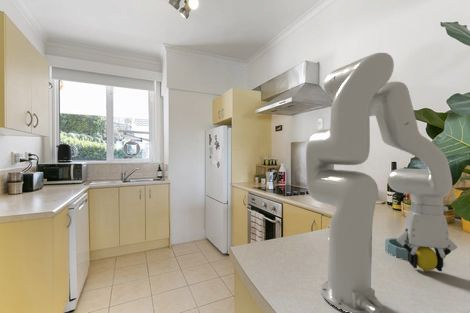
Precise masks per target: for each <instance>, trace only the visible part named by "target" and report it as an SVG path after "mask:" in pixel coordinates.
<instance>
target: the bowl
mask: <svg viewBox="0 0 470 313" xmlns="http://www.w3.org/2000/svg"><path fill="white" fill-rule="evenodd" d="M397 238H398V237H391V238H387V239H386V240H385V241H384V242H385V245H384V246H385V247H384V249H385V252H386V251H387V252H388V253H387V252H386V253H387V254H389V253H390V254H392V255H394V256H396V257H395V258H397V257H399V258H398V259H400V258H403V259H402V260H404V259H406V260H405V261H407V260H408V254H409V252H408V251H407V250H406V249H405V248H404V247H403V246H402V245H401V244H400V243H399V242H398V241H397ZM404 242H405V243H406V244H407V245H409V241H407V240H405V241H404ZM419 247H420V246H419ZM390 254H389V255H390ZM392 255H391V256H392ZM394 256H393V257H394Z"/></svg>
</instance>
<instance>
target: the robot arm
mask: <svg viewBox="0 0 470 313" xmlns="http://www.w3.org/2000/svg"><path fill="white" fill-rule="evenodd" d="M394 63H395V62H394V58H393V56H392V55H390V54H389V53H387V52H376V53H373V54H370V55H367V56H364V57H363V58H360V59H357V60H355V61H353V62H351V63H349V64H347V65H344V66H342V67H341V66H340V67H339V68H336V69H335V70H333V71H330V73H328V75H327V76H326V77H325V79H324V82H323V89H324V92H325V94H326V96H327V97H328V98H329V99H330V100H331V101H332V103H331V108H330V126H329V128H327V129H321V130H318V131H316V132H314V133H313V134H311V136H310V137H309V139H308V141H307V144H306V148H305V167H306V168H305V171H306V172H305V173H306V187H307V188H306V189H307V192H308V195H309V196H310V197H311V198H312V200H315V201H317V202H319V203H323V204H326V205H330V206H333V207H336V210H335V212H334V213H333V215H332V216H331V217H330V220H329V224H328V250H327V251H328V257H327V258H328V260H327V263H328V264H327V267H328V268H327V270H328V271H327V276H328V277H327V281H325V282H324V283H323V284H322V285H321V286H320V287H321V292H320V293H321V295H323V296H322V298H323V299H324V298H325V299H326V300H327V301H328V302H329V303H330V304H329V303H328V302H327V301H326V300H325V299H324V300H325V301H326V302H327V303H328V304H329V305H331V304H332V305H334V306H336V307H338V308H340V309H343V310H345V311H348V312H352V313H381V312H382V311H383V310H384V305H383V304H382V303H381V302H380V301H379V299H378V297H377V296H376V295H375V294H376V292H375V289H374V288H373V287H372V264H373V263H372V260H373V258H372V257H373V256H372V254H373V252H372V251H373V220H374V216H375V215H374V214H375V208H376V206H377V201H378V197H379V187H378V184H377V181H376V180H375V179H374V178H373V177H372V176H371V175H369V174H367V173H365V172H361V171H356V170H348V169H347V170H345V169H335V165H338V166H357V165H361V164H364V163H365V162H366V161H367V160H368V158H369V156H370V148H371V147H370V146H371V145H370V144H371V143H370V141H371V139H370V137H371V134H370V132H371V131H370V129H371V128H370V126H371V125H370V117H373V116H374V117H375V118H376V121H377V125H378V129H379V132H380V136H381V139H382V141H383V143H384V144H386V145H388V146H390V147H393V148H395V149H398V150H400V151H402V152H405V153H408V154H410V155H412V156H414V157H416V158H417V159H419V160H420V161H421V162H422V163H423V164H424V165H425V166H426V168H404V167H403V168H402V167H401V168H397V169H394V170H392V171H391V172H390V173H389V174H388V177H387V184H388V186H389V188H390V189H391V190H393V191H395V192H397V193H400V194H408V195H410V210H408V211H407V212H406V215H405V220H404V225H403V226H404V227H403V233H402V234H401V235H400V236H399V237H396V238H397V241H398V242H399V243H400V244H401V245H402V246H403V247H404V248H405V249H406V250H407V251H408V252H409V254H408V263H409V264H410V265H411V266H412V267H413V268H414V269H418V265H417V255H416V251H417V249H418V247H419V246H421V247H429V248H431V249H434V250H433V251H434V252H435V253H436V256H437V266H436V267H435V270H437V271H438V272H442V271H443V268H444V259H445V258H446V257H447V255H449V254H450V253H451V252H453V251H455V250H456V249H458V246H457V245H456V243H455V242H454V241H452V239H450V235H449V232H450V231H449V226H448V222H447V221H448V220H447V218H446V215H445V214H444V212H448V211H449V207H448V206H445V205H444V198H445V197H447V196H448V195H449V194H450V193H451V192H452V188H453V177H452V172H451V168H450V163H449V161H448V158H447V157H446V155H445V154H444V152H443V151H442V150H441V149H440V148H439V147H438V146H437V145H436V144H435V143H434V142H432V141H431V140H430V139H428V138H426V137H425V136H424V135H422V134H421V133H420V131H419V128H418V123H417V122H418V121H417V118H416V115H415V110H414V106H413V103H412V99H411V95H410V91H409V88H408V86H407V85H406V84H405V83H404V82H403V81H402V82H401V81H390V79H391V77H392V75H393V73H394V67H395V64H394ZM405 240H407V241H409V245H407V244H406V243H405V242H404V241H405ZM332 305H331V306H332ZM334 306H333V307H334ZM380 311H381V312H380Z"/></svg>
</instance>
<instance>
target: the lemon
mask: <svg viewBox="0 0 470 313" xmlns="http://www.w3.org/2000/svg"><path fill="white" fill-rule="evenodd" d="M416 255H417V267H419V268H420V269H421V270H423V271H424V272H428V271H433V270H436V268H435V267H436V266H437V256H436V252H435V250H433V248H430V247H421V246H420V247H418V249H417V251H416Z"/></svg>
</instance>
